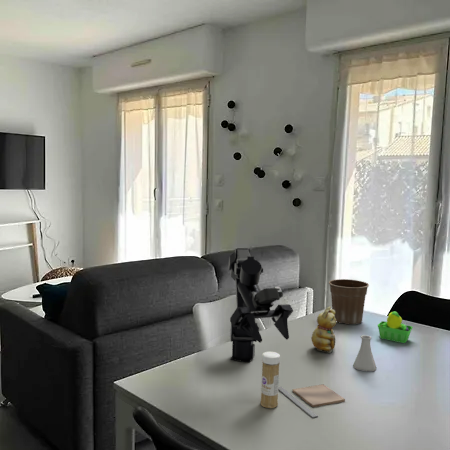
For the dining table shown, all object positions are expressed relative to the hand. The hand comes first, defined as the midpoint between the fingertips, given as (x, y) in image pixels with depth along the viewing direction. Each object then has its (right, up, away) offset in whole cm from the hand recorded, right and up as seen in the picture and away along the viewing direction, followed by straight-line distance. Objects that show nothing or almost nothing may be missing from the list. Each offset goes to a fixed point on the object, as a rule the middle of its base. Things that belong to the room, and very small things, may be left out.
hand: (274, 340), depth 131 cm
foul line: (+5, -15, -5) cm, 17 cm away
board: (+12, -15, -1) cm, 19 cm away
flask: (+30, -14, +20) cm, 39 cm away
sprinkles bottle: (-2, -15, -7) cm, 17 cm away
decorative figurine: (+20, -12, +35) cm, 43 cm away
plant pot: (+38, -9, +72) cm, 82 cm away
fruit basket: (+49, -12, +49) cm, 70 cm away
